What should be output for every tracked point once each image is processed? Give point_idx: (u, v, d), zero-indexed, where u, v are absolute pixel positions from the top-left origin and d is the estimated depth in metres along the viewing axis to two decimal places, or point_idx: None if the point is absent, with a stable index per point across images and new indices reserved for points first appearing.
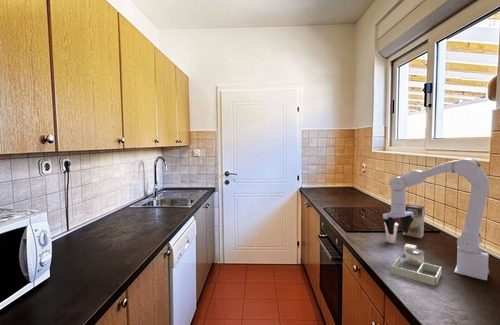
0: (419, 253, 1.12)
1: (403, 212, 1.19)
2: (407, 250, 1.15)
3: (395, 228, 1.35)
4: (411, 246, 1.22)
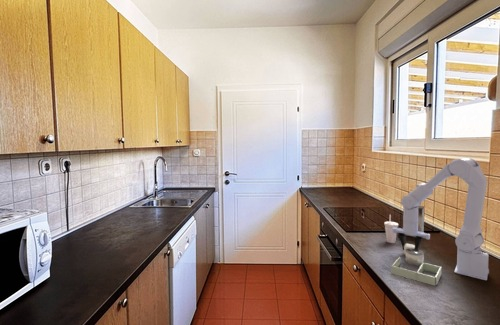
0: (419, 253, 1.12)
1: (409, 230, 1.20)
2: (407, 250, 1.15)
3: None
4: (411, 246, 1.22)
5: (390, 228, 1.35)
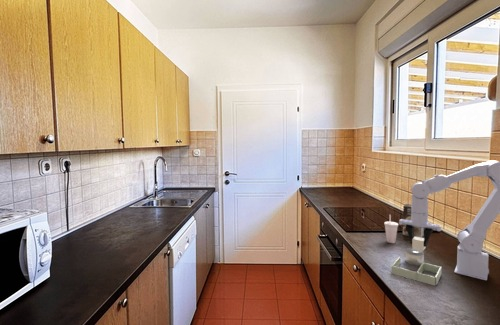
0: (419, 253, 1.12)
1: (418, 222, 1.09)
2: (407, 250, 1.15)
3: (395, 228, 1.35)
4: (420, 239, 1.11)
5: (390, 228, 1.35)
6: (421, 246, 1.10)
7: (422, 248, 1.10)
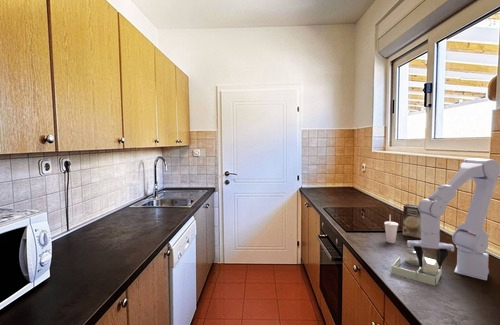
0: None
1: (432, 243, 0.98)
2: (407, 250, 1.15)
3: (395, 228, 1.35)
4: (433, 262, 1.00)
5: (390, 228, 1.35)
6: (435, 271, 0.99)
7: (435, 273, 1.00)
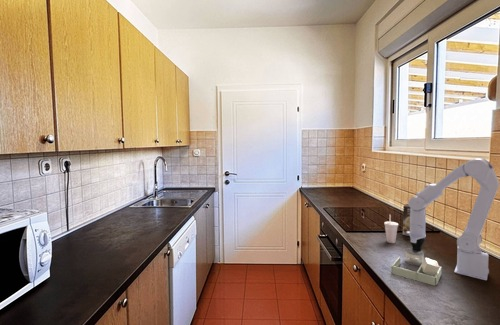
0: (419, 253, 1.12)
1: None
2: (407, 250, 1.15)
3: (395, 228, 1.35)
4: (434, 263, 1.00)
5: (390, 228, 1.35)
6: (435, 271, 0.99)
7: (435, 273, 1.00)
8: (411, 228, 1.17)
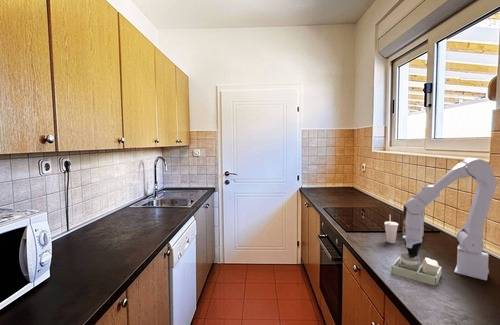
0: (415, 258, 1.07)
1: (421, 237, 1.10)
2: (402, 255, 1.10)
3: (395, 228, 1.35)
4: (434, 263, 1.00)
5: (390, 228, 1.35)
6: (435, 271, 0.99)
7: (435, 273, 1.00)
8: (407, 232, 1.12)
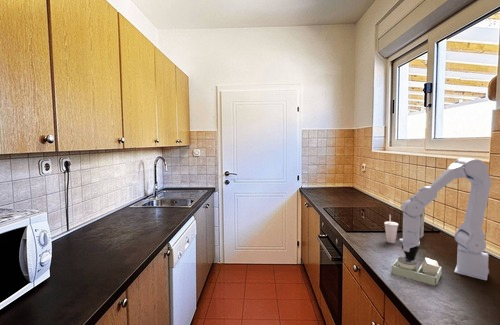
0: (412, 262, 1.04)
1: None
2: (399, 259, 1.07)
3: (395, 228, 1.35)
4: (434, 263, 1.00)
5: (390, 228, 1.35)
6: (435, 271, 0.99)
7: (435, 273, 1.00)
8: (404, 235, 1.08)
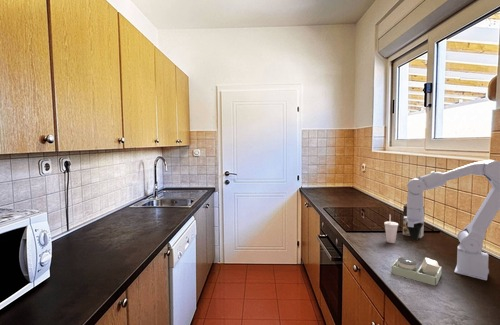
0: (412, 262, 1.04)
1: (422, 217, 1.11)
2: (399, 259, 1.07)
3: (395, 228, 1.35)
4: (434, 263, 1.00)
5: (390, 228, 1.35)
6: (435, 271, 0.99)
7: (435, 273, 1.00)
8: (408, 212, 1.12)
